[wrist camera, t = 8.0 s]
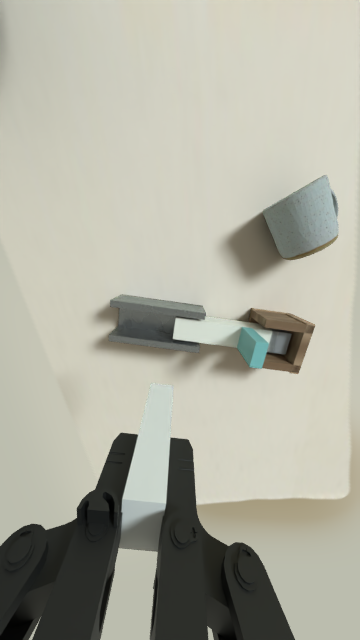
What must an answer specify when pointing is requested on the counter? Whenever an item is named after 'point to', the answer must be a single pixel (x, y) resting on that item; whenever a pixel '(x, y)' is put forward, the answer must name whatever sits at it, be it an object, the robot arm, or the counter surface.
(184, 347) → the channel
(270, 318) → the socket
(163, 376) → the counter surface
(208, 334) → the rod
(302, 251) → the ceramic mug
